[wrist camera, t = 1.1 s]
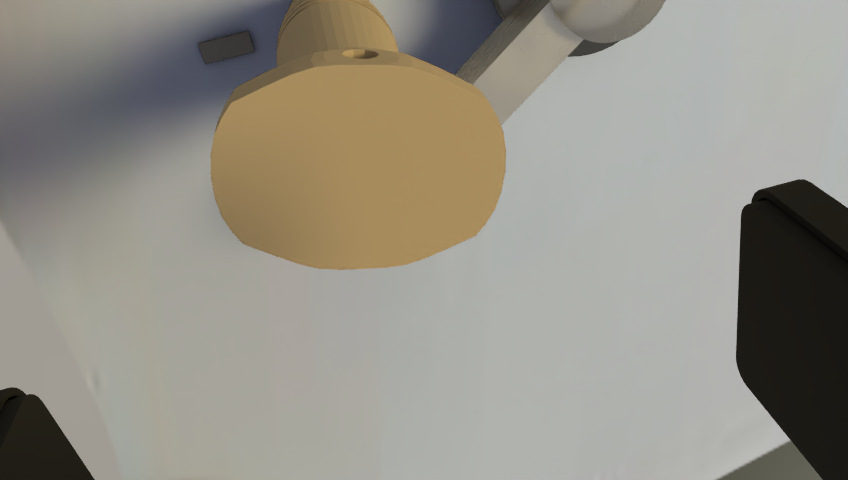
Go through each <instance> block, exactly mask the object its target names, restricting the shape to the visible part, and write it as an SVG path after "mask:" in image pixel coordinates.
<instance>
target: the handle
mask: <svg viewBox="0 0 848 480" xmlns="http://www.w3.org/2000/svg"><path fill="white" fill-rule="evenodd" d="M505 164H506V148H505V141H504V134H503V130H502V127H501V125H500V122H499V120H498V117H497V115H496V113H495V111H494V110H493V108H492V106H491V105H490V103H489V101H488V100H487V99H486V97H485V96H484V95H483V93H482V92H481V91H480V90H479V89H478V88H477V87H475V86H473V85H471V84H470V83H468V82H466V81H464V80H462V79H460V78H459V77H457V76H455V75H453V74H451V73H449V72H447V71H445V70H443V69H441V68H438V67H436V66H434V65H432V64H429V63H427V62H425V61H423V60H420V59H418V58H415V57H412V56H410V55H407V54H405V53H400V52H398V48H397V44H396V41H395V38H394V36H393V34H392V32H391V30H390V28H389V26H388V24H387V22H386V21H385V19H384V17H383V16H382V15H381V13H380V12H379V11H378V10H377V9H376V8H375V6H374V5H373V4H372V3H371V2H369V1H368V0H293V1H292V3H291V4H290V7H289V9H288V12H287V13H286V15H285V17H284V20H283V22H282V25H281V28H280V30H279V35H278V41H277V67H276V68H273V69H271V70H269V71H267V72H265V73H263V74H261V75H259V76H257V77H255V78H253V79H251V80H249V81H247V82H245V83H243V84H242V85H240V86H238V87H236V88H235V89H234V91H233V93H232V94H231V96H230V97H229V99H228V101H227V102H226V104H225V106H224V108H223V110H222V113H221V115H220V117H219V120H218V123H217V126H216V130H215V134H214V139H213V145H212V151H211V180H212V185H213V190H214V195H215V200H216V202H217V205H218V207H219V210H220V213H221V215H222V218H223V219H224V221H225V222H226V224H227V225H228V226H229V228H230V229H231V231H232V232H233V233H234V234H235V236H236V237H237V238H238V239H239V240H240V241H241V242H242V243H243V244H245V245H247V246H250V247H253V248H256V249H258V250H261V251H264V252H266V253H269V254H272V255H274V256H277V257H280V258H283V259H286V260H289V261H292V262H295V263H298V264H302V265H306V266H310V267H315V268H319V269H338V270H344V269H366V268H386V267H393V266H401V265H406V264H409V263H412V262H415V261H418V260H422V259H424V258H427V257H429V256H431V255H434V254H436V253H438V252H441V251H443V250H445V249H448V248H450V247H452V246H454V245H456V244H458V243H460V242H463V241H465V240H467V239H469V238H471V237H473V236H476V235H477V234H478V232H479V231H480V230H481V229H482V227H483V226H484V225H485V224H486V222H487V221H488V219H489V218H490V216H491V214H492V213H493V211H494V210H495V207H496V204H497V202H498V199H499V196H500V194H501V191H502V185H503V180H504V175H505Z"/></svg>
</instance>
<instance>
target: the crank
mask: <svg viewBox="0 0 848 480" xmlns="http://www.w3.org/2000/svg"><path fill="white" fill-rule="evenodd" d="M664 2H665V0H522V1H521V2H520V3H519V4H518V6H517V7H516V8H515V9H514V10H513V11H512V12H511V13H510V14H509V15H508V16H507V18H506V19H505V20H504V21H503V22H502V23H501V24H500V25H499V26H498V27H497V28H496V30H495V31H494V32H493V33H492V34H491V35H490V36H489V37H488V38H487V39H486V40H485V42H484V43H483V44H482V45H481V46H480V47H479V48H478V49H477V50H476V51H475V53H474V54H473V55H472V56H471V57H470V58H469V59H468V60H467V61H466V62H465V63H464V65H463V66H462V67H461V68H460V69H459V70H458V71H457V72H456V73H455V74H454V75H455V76H457V77H459V78H460V79H462V80H464V81H466V82H468V83H470V84H471V85H473V86H475V87H477V88H478V89H479V90H480V91H481V92H482V93H483V95H484V96H485V97H486V99H487V100H488V101H489V103H490V105H491V106H492V108H493V110H494V111H495V113H496V115H497V117H498V120H499V122H500V125H502V124H503V123H504V122H505V121H506V120H507V119H508V118H509V117H510V115H511V114H512V113H513V112H514V111H515V110H516V109H517V108H518V107H519V106H520V105H521V104H522V103H523V102H524V101H525V100H526V99H527V98H528V97H529V96H530V95H531V94H532V93H533V92H534V91H535V90H536V88H537V87H538V86H539V85H540V84H541V83H542V82H543V81H544V80H545V79H546V78H547V77H548V76H549V75H550V74H551V73H552V72H553V71H554V70H555V69H556V68H557V67H558V66H559V65H560V64H561V63H562V61H563V60H564V59H565V58H566V57H567V56H568V55H569V54H570V53H571V52H572V51H573V50H574V49H575V48H576V47H577V46H578V45H579V44H580V43H581V42H582V41H583V40H584V39H585V40H588V41H591V42H597V43H610V42H616V41H620V40H623V39H626V38H628V37H630V36H632V35H634V34H636V33H637V32H639V31H640V30H641V29H643V28H644V27H645V26H646V25H647V24H649V23H650V22H651V21H652V19H653V18H654V17H655V16H656V15H657V13H658V12H659V11H660V9H661V8H662V6H663V4H664Z"/></svg>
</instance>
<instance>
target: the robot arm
mask: <svg viewBox="0 0 848 480" xmlns="http://www.w3.org/2000/svg"><path fill="white" fill-rule="evenodd" d="M736 362H737V366H738V370H739V373H740V375H741V377H742V379H743V381H744V383H745V384H746V385H747V387H748V388H749V389H750V390H751V392H752V393H753V394H754V395H755V397H756V398H757V399H758V400H759V402H760V403H761V404H762V405H763V406H764V408H765V409H766V410H767V411H768V413H769V414H770V415H771V416H772V418H773V419H774V420H775V421H776V423H777V424H778V425H779V426H780V427H781V429H782V430H783V431H784V432H785V434H786V435H787V436H788V437H789V439H790V440H791V441H792V442H793V443H794V445H795V446H796V447H797V448H798V449H799V451H800V452H801V453H802V454H803V455H804V457H805V458H806V459H807V461H808V462H809V463H810V464H811V466H812V467H813V468H814V469H815V471H816V472H817V473H818V474H819V475H820V477H821V478H822V479H823V480H848V208H847V207H845V206H844V205H842V204H841V203H840V202H838V201H837V200H835V199H834V198H832V197H831V196H829V195H828V194H827V193H825V192H824V191H822V190H821V189H819V188H818V187H816V186H815V185H813V184H812V183H811V182H808V181H806V180H804V179H803V180H795V181H791V182H787V183H784V184H780V185H776V186H772V187H768V188H765V189H761V190H758V191H757V192H756V193H755V194H754V196H753V198H752V203H751V204H747V205H746V206H744V208H743V210H742V214H741V234H740V262H739V290H738V318H737V346H736ZM0 480H94V478H93V477H92V475H91V474H90V472H89V471H88V469H87V468H86V466H85V465H84V463H83V462H82V461H81V459H80V457H79V456H78V454H77V453H76V451H75V450H74V448H73V447H72V445H71V444H70V442H69V441H68V439H67V438H66V436H65V435H64V433H63V432H62V430H61V429H60V427H59V426H58V424H57V423H56V421H55V420H54V418H53V417H52V415H51V414H50V412H49V411H48V409H47V408H46V406H45V405H44V404H43V402H42V401H41V400H40V398H39V397H37V396H36V395H32V394H29V395H26V394H25V393H24V392H23V391H21V390H20V389H18V388H7V389H3V390H0Z"/></svg>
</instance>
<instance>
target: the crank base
mask: <svg viewBox="0 0 848 480" xmlns="http://www.w3.org/2000/svg"><path fill="white" fill-rule="evenodd" d="M521 1H522V0H492V2H493V4H494V6H495V8H496V10H497V12H498V13H499V15H500V16H501V18H502V19H503V20H505V19H506V18H507V16H508V15H509V14H510V13H511V12H512V11H513V10H514V9H515V8H516V7H517V6H518V4H519V3H520V2H521ZM617 42H619V41H616V42H610V43H597V42H591V41H588V40H585V39H584V40H583V41H582V42H581V43H580V44H579V45H578V46H577V47H576V48H575V49H574V50H573V51H572V52H571V53H570V54H569V55H568V57H571V56H583V55H588V54H592V53H595V52H599V51H602V50H604V49H606V48H608V47H610V46H612V45H614V44H615V43H617ZM198 46H199V49H200V52H201V54H202V57H203V60H204V62H205V64H208V63H212V62H216V61H220V60H223V59H227V58H231V57H235V56H239V55H243V54H247V53H251V52H254V51H255V50H254V47H253V44H252V41H251V38H250V35H249V32H248V31H245V32H241V33H237V34H233V35H229V36H225V37H221V38H217V39H213V40H209V41H205V42H201V43H198Z"/></svg>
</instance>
